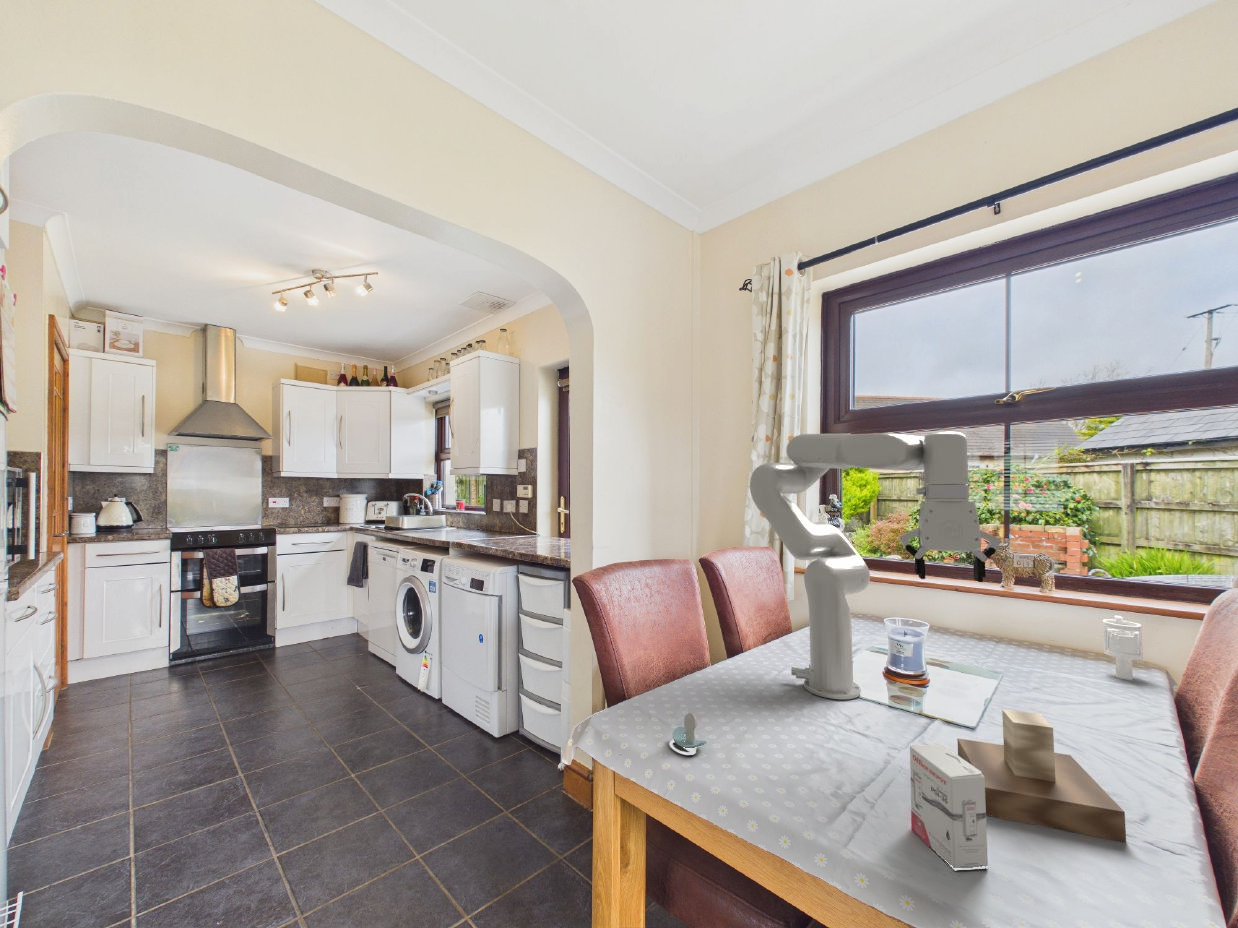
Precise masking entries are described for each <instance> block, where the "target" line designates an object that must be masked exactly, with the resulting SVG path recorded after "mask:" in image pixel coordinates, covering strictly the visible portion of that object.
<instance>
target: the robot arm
mask: <svg viewBox="0 0 1238 928" xmlns="http://www.w3.org/2000/svg"><path fill="white" fill-rule="evenodd" d="M967 440H968V439H967V437H966V435H965V434H963V433H962V432H957V431H942V432H933V433H930V434H929V433H928V434H926V435H925V436H919V435H908V434H901V433H900V434H898V433H845V432H844V433H843V432H842V433H802V434H798V435H796V436H793V438H791V439H790V440H789V441H788V443H787V446H786V456H787V457H788V459H789V460H790V461H791V462H768V463H763V464H760V465H759V466H758V467H755V469H754V470H753V472H752V473H751V475H750V482H749V491H750V496H751V498H752V501H753V503H754V504H755V506H756V508H757V509H758V511H760V513H761V514H762V515H763V517H764V518H765V519H766V520H767V521H768V523H769V525H770V526H771V527H772V528H773V531H774V532H775V534H776V535H777V537H778V538H779V539H780V541H781V542H782V543H783V545H784V546H785V548H786V549H787V551H788V552H789V553H790V554H791V555H792V557H794V558H795V559H796V560H799V561H811V560H813V561H811V562H810V563H809V564H808V565H807V566H806V568H805V570H804V574H803V582H804V588H805V592H806V596H807V597H806V598H807V602H808V605H807V606H808V623H809V625H808V627H809V628H808V629H809V657H810V658H809V662H810V664H808V667H806V666H805V667H804V668H800V667H796V666H794V667H793V666H791V668H790V669H791V676H795V678H796V679H800V680H802V679H803V685H804V689H805V690H806V691H807V692H809V693H811V694H813V695H816V696H819V697H821V698H825V699H832V700H845V701H846V700H853V699H856V698H858V697H860V696H861V694H860V693H862V691H861V690H862V689H861V687H860V685H858V684H857V683H856V682H854V665H853V664H854V663H853V662H854V661H853V658H854V657H853V626H852V614H851V611H850V610H851V609H850V607H849V604H848V602H847V598H846V596H848V595H853V594H857V593H861V592H862V591H864V590H866V589H867V588H868V586H869V584H870V581H871V573H870V569H869V567H868V565H867V563H866V561H864V559H863V558H862V556H861V555H860V553H858V551H857V550H856V549H855V547H854V546H853V545H852V544H851V543H850V541H849V540H848V539H847V537H846V536H845V535H844V534H843V533H842V531H841V530H840V529H838V528H837V527H836V526H834V525H833V524H830V523H829V522H821V521H820V522H819V521H818V522H812V521H810V519H809V518H807V517H806V516H805V515H804V513H803V512H802V511H801V509H800V508H799V506H797V504H795V502H793V501H792V500H791V499H789V498H788V497H787V496H786V495H787V494H788V495H789V494H794V495H795V494H800V493H801V494H802V493H803V492H805V491H807V490H809V489H810V488H811V487H812V486H813V485H814V484H815V483H816V482H818V480H819V479H820V478H822V477H823V476H824V475H825V474H826V473H828V471H829V470H830V469H839V470H840V469H841V470H849V469H850V468H851V469H852V468H855V469H856V468H858V469H873V470H874V469H875V470H890V471H891V470H892V471H893V470H894V471H895V470H898V471H919V470H923V476H924V477H923V483H924V484H923V486H922V487H920V488H919V487H917V488H916V496H917V495H918V496H919V495H920V496H923V498H924V500H921V501H920V505H919V514H918V526H917V528H914V529H912V530H910V531H908V532H905V533H903V534H901V535H899V536H898V540H899V541H900V543H901V544H902V546H903V547H904V549H905V551H907V552H908V553H909V554H910V555H911V556H912V557H913V558H914V572H915V575H918V578H919V579H921V580H925V579H926V560H925V559H924V555H926V553H927V552H928V551H934V552H935V551H936V552H937V551H938V552H959V553H962V552H965V553H971V555H972V556H973V557H974V559H973V561H972V567H973V568H972V569H973V579H974V580H975V581H976V582H978V583H983V582H984V581H983V580H984V579H983V578H986V576H987V574H986V562H987V561H988V560H989V559H990V558H991V557H993V555H994V554H995V553H996V551H997V549H998V548H999V546H1000V545H1001V542H1002V539H1000V538H998V537H996V536H994V535H992V534H990V533H988V532H985V531H983V530H981V528H980V527H981V525H980V520H979V519H980V518H979V514H978V510H977V506H976V502H975V500H970V488H969V462H968V461H969V459H968V443H967V442H968V441H967ZM784 494H785V495H784ZM915 537H917V539H918V540H917V541H918V545H919V546H918V547H917V548H916V549H915V548H914V547H913V546H912V545H911V542H910V540H911V539H913V538H915ZM982 539H983V540H986V541H988V545H987V547H986V548H984V549H983V550H982V551H981V548H982ZM859 695H860V696H859Z"/></svg>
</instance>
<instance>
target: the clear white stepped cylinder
mask: <svg viewBox="0 0 1238 928" xmlns="http://www.w3.org/2000/svg"><path fill="white" fill-rule="evenodd" d="M1142 631H1143V630H1142V624H1140V623H1137V622H1133V621H1129V620H1124V617H1123V616H1120V615H1114V619H1110V618H1109V619H1107V618H1105V619H1102V634H1103V652H1104V654H1105V655H1106V656H1108V657H1109V656H1110V657H1113V658H1114V659H1115V660H1114V661H1115V676H1117V677H1116V678H1118V679H1121V680H1126V681H1127V680H1128V681H1133V680H1134V676H1133V675H1134V674H1133V671H1134V669H1133V661H1143V660H1144V654H1143V653H1144V650H1143V636H1142V635H1143V634H1142ZM1131 632H1133V633H1132V634H1131Z"/></svg>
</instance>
